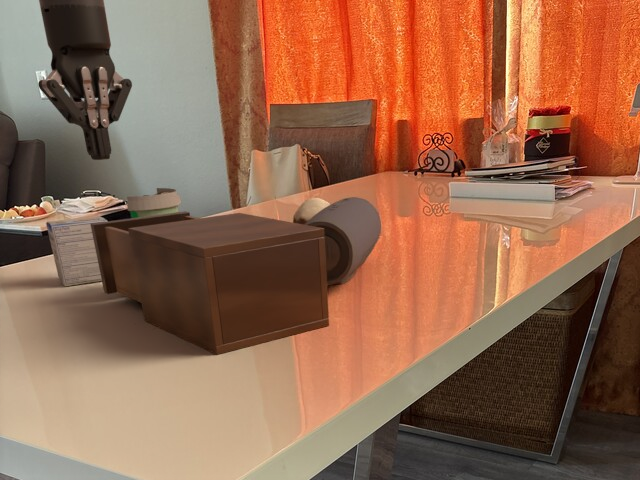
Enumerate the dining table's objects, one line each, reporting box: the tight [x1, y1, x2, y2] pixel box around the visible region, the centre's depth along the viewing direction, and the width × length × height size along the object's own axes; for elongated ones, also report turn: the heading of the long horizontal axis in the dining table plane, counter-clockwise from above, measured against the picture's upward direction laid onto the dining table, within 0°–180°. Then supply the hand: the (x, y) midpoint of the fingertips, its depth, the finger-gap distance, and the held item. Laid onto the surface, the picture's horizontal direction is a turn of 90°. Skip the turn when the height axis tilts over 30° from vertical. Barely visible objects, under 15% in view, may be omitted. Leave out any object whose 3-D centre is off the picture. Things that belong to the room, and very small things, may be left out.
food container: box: [126, 187, 182, 219], centre depth 122 cm, size 12×6×10 cm, turn 170°
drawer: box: [90, 210, 200, 303], centre depth 94 cm, size 21×14×9 cm, turn 39°
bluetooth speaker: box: [304, 196, 382, 286], centre depth 102 cm, size 23×9×10 cm, turn 169°
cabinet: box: [128, 212, 330, 355], centre depth 82 cm, size 18×15×11 cm
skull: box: [292, 197, 331, 225], centre depth 127 cm, size 12×10×10 cm
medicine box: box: [45, 215, 108, 287], centre depth 105 cm, size 8×4×9 cm, turn 121°
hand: (100, 159), depth 96 cm, fingers closed
